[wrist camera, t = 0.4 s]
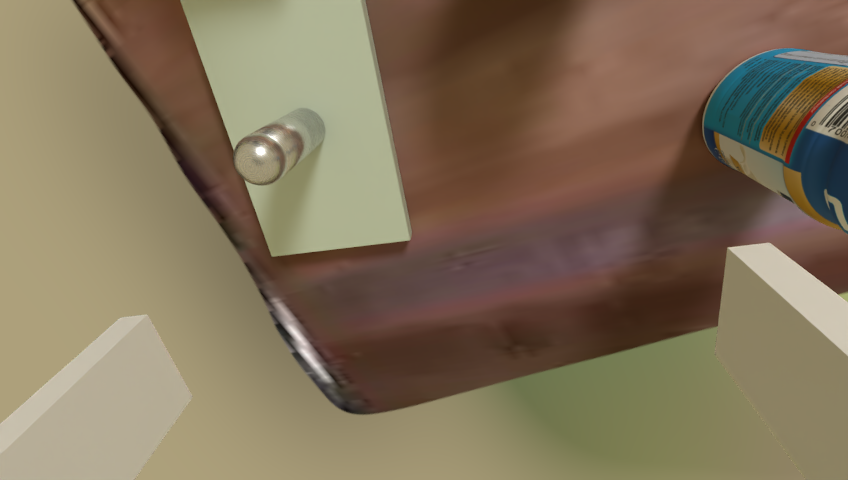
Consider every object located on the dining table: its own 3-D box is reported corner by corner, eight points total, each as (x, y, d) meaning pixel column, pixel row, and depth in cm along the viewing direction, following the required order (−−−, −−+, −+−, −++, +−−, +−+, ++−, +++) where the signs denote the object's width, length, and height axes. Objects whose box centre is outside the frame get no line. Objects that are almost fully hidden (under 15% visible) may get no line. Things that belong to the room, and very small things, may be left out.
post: (280, 111, 33) (215, 144, 24) (319, 104, 32) (267, 135, 24) (292, 151, 34) (234, 196, 26) (330, 145, 34) (284, 189, 25)
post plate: (189, -7, 31) (177, -8, 30) (356, -44, 29) (351, -47, 28) (278, 248, 40) (271, 256, 38) (411, 232, 38) (410, 240, 37)
